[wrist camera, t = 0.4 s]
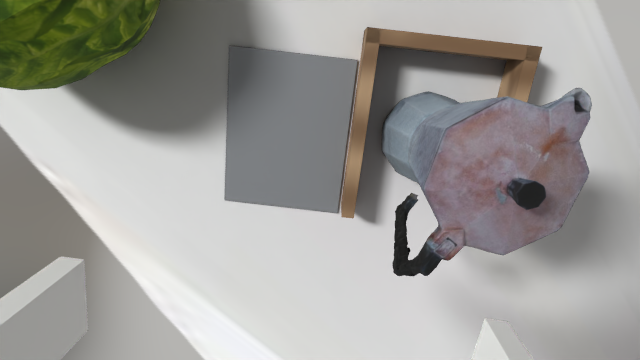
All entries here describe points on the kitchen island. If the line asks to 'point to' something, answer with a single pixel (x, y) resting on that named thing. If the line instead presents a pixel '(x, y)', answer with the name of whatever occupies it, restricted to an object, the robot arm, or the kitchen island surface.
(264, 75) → the mat
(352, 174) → the brown wooden frame
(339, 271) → the kitchen island surface
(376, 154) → the kitchen island surface
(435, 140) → the moka pot
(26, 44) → the lettuce
